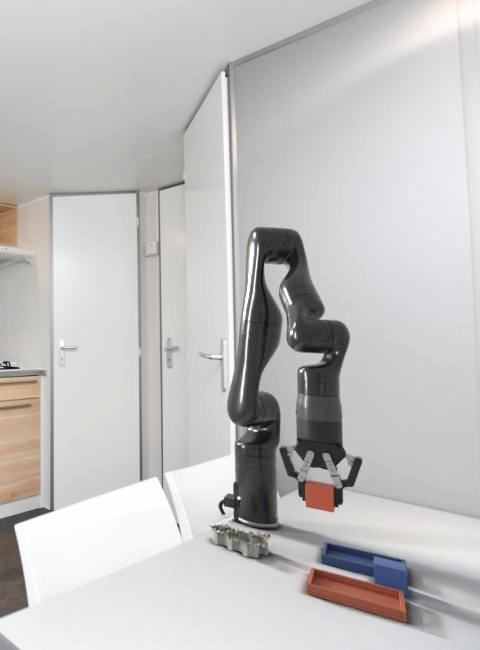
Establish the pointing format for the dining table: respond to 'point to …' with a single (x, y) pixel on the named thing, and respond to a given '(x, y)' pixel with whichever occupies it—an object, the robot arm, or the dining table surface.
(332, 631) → the dining table surface
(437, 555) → the dining table surface
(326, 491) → the terracotta block
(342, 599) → the terracotta tray
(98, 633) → the dining table surface
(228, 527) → the egg carton
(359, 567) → the blue tray
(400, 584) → the blue block
